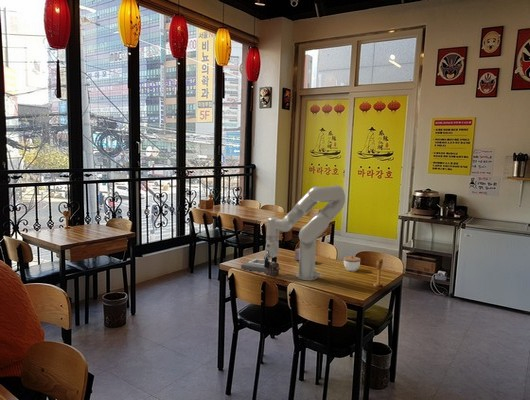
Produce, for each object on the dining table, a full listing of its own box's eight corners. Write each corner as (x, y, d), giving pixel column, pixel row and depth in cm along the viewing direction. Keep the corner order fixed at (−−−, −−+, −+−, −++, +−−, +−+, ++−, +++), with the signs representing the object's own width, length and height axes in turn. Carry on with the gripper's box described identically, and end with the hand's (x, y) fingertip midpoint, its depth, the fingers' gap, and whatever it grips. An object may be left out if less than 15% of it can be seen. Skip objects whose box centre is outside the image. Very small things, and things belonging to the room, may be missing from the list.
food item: (315, 262, 276) (316, 248, 276) (308, 264, 271) (308, 250, 270) (300, 259, 286) (301, 245, 285) (293, 260, 281) (293, 246, 280)
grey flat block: (277, 267, 261) (277, 260, 261) (266, 273, 247) (266, 266, 246) (253, 263, 269) (253, 257, 269) (241, 269, 255) (241, 262, 255)
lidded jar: (339, 269, 260) (340, 255, 259) (349, 267, 267) (349, 253, 266) (354, 273, 252) (354, 258, 251) (363, 270, 260) (364, 256, 259)
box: (270, 277, 240) (271, 264, 239) (264, 274, 245) (265, 262, 244) (278, 275, 244) (279, 263, 243) (272, 273, 248) (273, 261, 248)
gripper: (271, 241, 233) (269, 270, 235) (283, 236, 248) (281, 264, 250) (260, 239, 236) (258, 267, 238) (272, 235, 251) (271, 261, 253)
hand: (270, 265), depth 244 cm, fingers open, 9 cm apart
